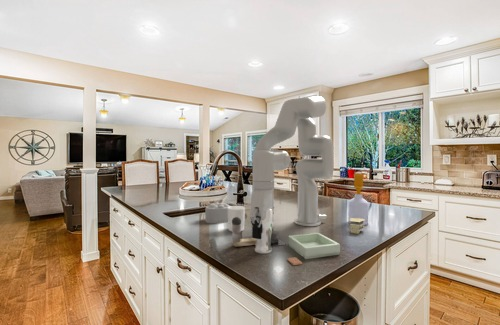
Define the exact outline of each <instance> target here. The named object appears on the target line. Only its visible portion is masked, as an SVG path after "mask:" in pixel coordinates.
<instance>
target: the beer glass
mask: <svg viewBox="0 0 500 325" xmlns="http://www.w3.org/2000/svg"><path fill="white" fill-rule="evenodd" d="M273 212H274V211H273V208H272V209H269V210H267V212H266V218H265V220H262V223H261V226H260V227H262V238H261V239H256V244H255V245H254V252H255V253H258V254H261V255H263V254H265V255H267V254H270V253H272V251H273V249H272V247H271V234H272V229H273V230H274V214H273ZM257 217H258V218H260V216H257ZM257 222H258V223H259V221H258V220H257Z"/></svg>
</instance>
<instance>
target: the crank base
mask: <svg viewBox="0 0 500 325" xmlns="http://www.w3.org/2000/svg"><path fill="white" fill-rule="evenodd" d="M286 245H287V244H286V243H285V242H284V241H282V240H281V239H280V238H279V242H278V243H271V248H272V247H279V246H281V247H282V246H286ZM286 259H287V261H288V262H289V263H290V264H291V265H292V266H299V265H302V264H303V262H302V261H301V260H300V259H299V258H298V257H288V258H286Z"/></svg>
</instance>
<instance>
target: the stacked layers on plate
mask: <svg viewBox="0 0 500 325" xmlns="http://www.w3.org/2000/svg"><path fill="white" fill-rule="evenodd" d="M364 220H365V219H361V218H350V223H349V230H350V234H351V233H352V234H360V232H361V230H364V229H365V225H364V223H365V222H363V221H364Z"/></svg>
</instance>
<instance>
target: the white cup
mask: <svg viewBox="0 0 500 325" xmlns="http://www.w3.org/2000/svg"><path fill="white" fill-rule="evenodd" d="M227 209H228V222H227V223H228V231H230V232H232V219H233V218H234V217H239V218H240V219H241V232H242V231H244V230H245V218H246V216H245V215H246V206H243V205H229V207H228V208H227Z"/></svg>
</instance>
